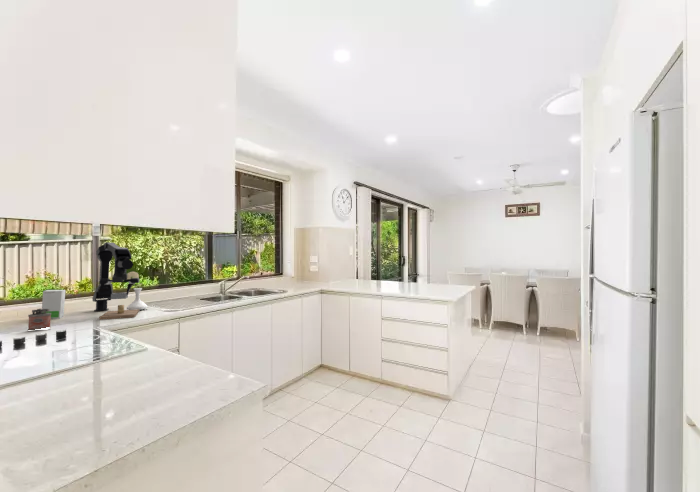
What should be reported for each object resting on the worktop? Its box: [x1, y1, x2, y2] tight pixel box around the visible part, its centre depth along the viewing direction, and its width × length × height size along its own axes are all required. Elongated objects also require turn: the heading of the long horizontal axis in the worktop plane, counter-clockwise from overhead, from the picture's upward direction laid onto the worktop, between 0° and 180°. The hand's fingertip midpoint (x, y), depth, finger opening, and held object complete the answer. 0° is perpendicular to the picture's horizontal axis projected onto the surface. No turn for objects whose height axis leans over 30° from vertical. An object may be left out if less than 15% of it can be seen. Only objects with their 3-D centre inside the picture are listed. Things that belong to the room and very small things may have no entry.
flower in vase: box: [125, 271, 148, 311], centre depth 205 cm, size 13×11×25 cm
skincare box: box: [41, 289, 66, 320], centre depth 177 cm, size 8×7×16 cm
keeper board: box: [98, 304, 140, 321], centre depth 186 cm, size 20×16×6 cm
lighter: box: [27, 308, 52, 331], centre depth 149 cm, size 8×3×10 cm, turn 114°
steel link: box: [111, 291, 129, 300], centre depth 186 cm, size 7×7×3 cm
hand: (119, 295), depth 186 cm, fingers closed on steel link, 7 cm apart
